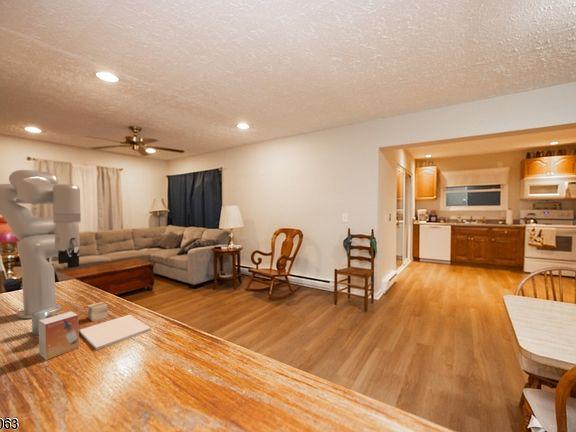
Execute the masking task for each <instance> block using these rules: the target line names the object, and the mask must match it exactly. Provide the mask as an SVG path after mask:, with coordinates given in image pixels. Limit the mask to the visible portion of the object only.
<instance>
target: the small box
mask: <svg viewBox="0 0 576 432" xmlns="http://www.w3.org/2000/svg"><path fill="white" fill-rule="evenodd" d="M38 324H39V334H38V349H39V350H38V351H39V352H38V353H39V355H40V356H41V357H42V358H43V359H44V360H46V361H47V360H49V359H52V358H55V357H58V356H60V355H64V354H66V353H68V352H71V351H74V350H78V349H79V348H80V336H79V335H80V332H79V330H80V329H79V326H80V325H79V315H78V314H77V313H75V312H73V311H71V310H70V311H68V312H67V311H66V313H64V314H60V315H57V316H53V317H49V318H46V319H41V320H39V321H38Z"/></svg>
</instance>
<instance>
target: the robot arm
mask: <svg viewBox="0 0 576 432" xmlns="http://www.w3.org/2000/svg"><path fill="white" fill-rule="evenodd" d="M8 181H9V183H1V184H0V216H1V217H2V218H3V219H4V220H5V222H6V223H7V225H8V227H9V228H10V230H11V232H12V234H13V235H14V236H15V238H16V239H18V240H19V241H18V242H17V246H16V248H17V253H18V257H19V262H20V266H21V278H22V280H21V281H22V300H23V310H21V311H20V312H19V313H18V314H17V315H18V318H19V319H26V320H27V319H32V313H33V312H35V311H38V310H44V309H48V310H49V314H51V313H56V312H58V311H60V310H61V309H62V306H61V304H59V303H57V301H56V300H57V298H56V277H55V267H54V265H53V264H52V263H51V262H49V261H48V259H49V258H53V257H57V258H58V260H57V262H58V264H59V265H63V264H67V268H68V269H72V268H77V267H78V268H79V267H80V250H79V249H80V243H81V242H80V228H79V223H81V222H82V219H81V215H82V214H81V188H80V187H79V186H78V185H75V184H60V183H59V184H58V179H57V177H56V175H55V174H53V173H52V172H49V171H43V170H42V171H40V170H31V169H18V170H15V171H13V172H11V173H10V175H9V176H8ZM21 204H22V205H21ZM23 204H31V205H52V208H53V209H52V211H53V213H52V215H53V217H36V216H35V215H34V213H33V212H32V210H30V209H29V208H27V207H25V206H24V205H23Z"/></svg>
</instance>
